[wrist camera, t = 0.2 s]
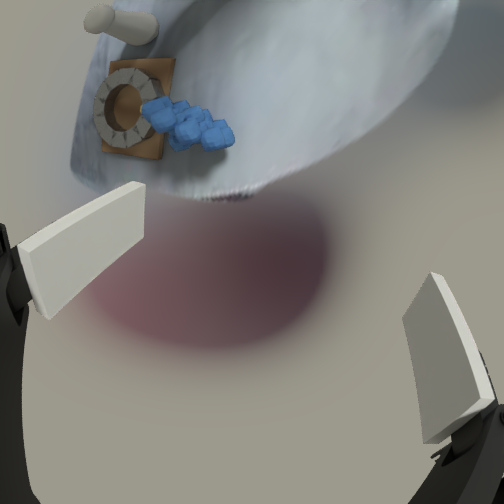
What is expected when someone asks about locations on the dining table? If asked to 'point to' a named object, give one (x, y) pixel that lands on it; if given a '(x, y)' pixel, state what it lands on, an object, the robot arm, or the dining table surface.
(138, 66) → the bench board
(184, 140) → the grapes
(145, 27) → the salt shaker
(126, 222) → the robot arm
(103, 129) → the grey segmented ring
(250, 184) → the dining table surface
